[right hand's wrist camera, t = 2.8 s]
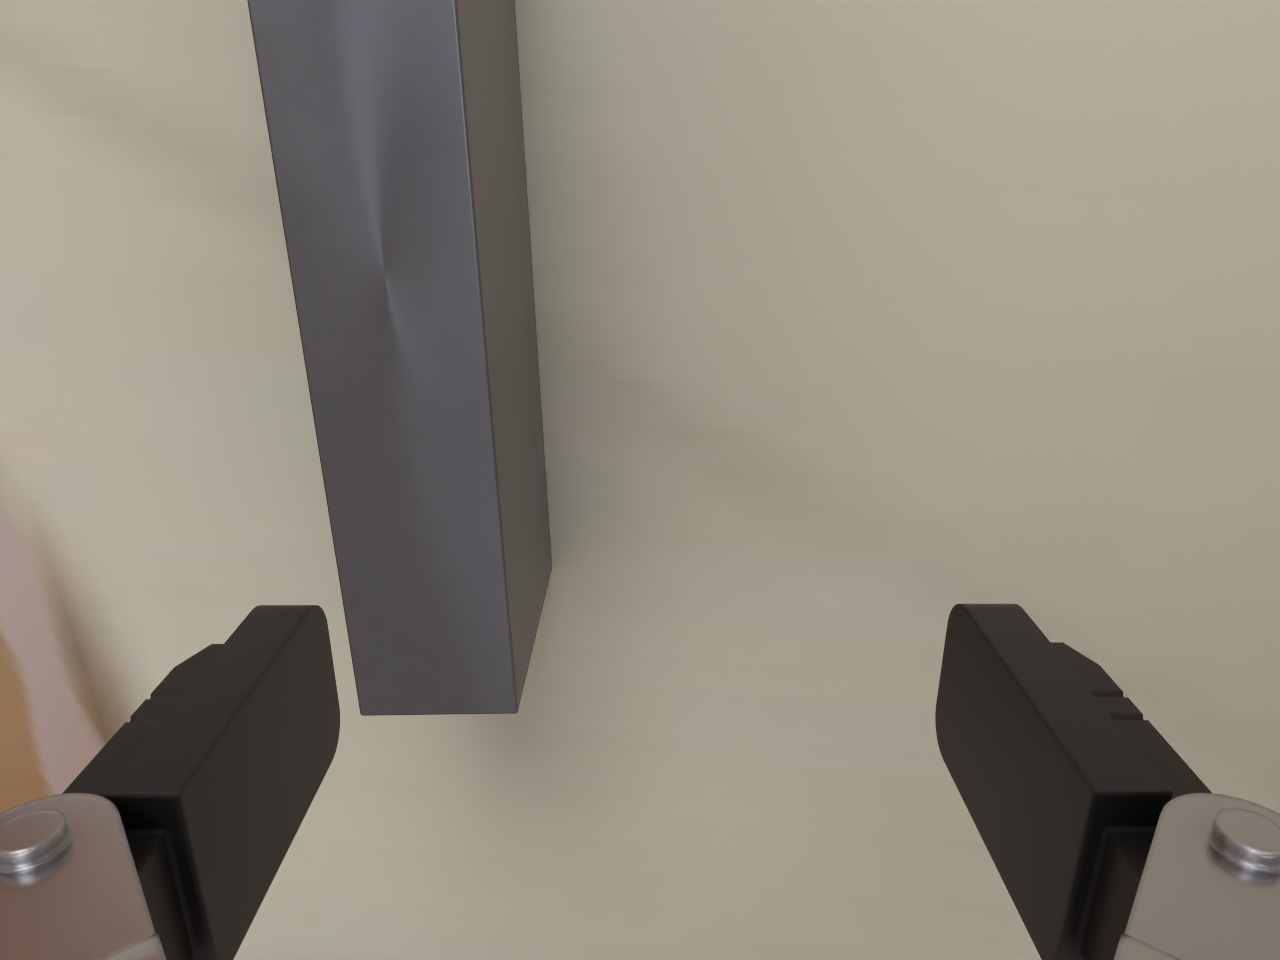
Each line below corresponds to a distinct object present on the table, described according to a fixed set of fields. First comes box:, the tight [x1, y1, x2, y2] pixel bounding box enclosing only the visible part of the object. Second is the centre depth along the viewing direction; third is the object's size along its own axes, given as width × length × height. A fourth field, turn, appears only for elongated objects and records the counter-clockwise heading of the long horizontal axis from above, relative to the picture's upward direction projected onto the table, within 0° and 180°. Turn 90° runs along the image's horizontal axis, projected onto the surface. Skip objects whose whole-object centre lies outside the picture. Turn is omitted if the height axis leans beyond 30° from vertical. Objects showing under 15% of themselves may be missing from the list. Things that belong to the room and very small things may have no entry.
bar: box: [248, 0, 552, 715], centre depth 25 cm, size 25×4×9 cm, turn 1°
